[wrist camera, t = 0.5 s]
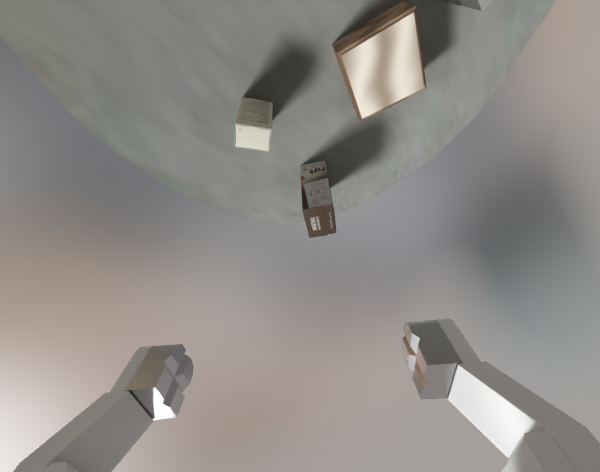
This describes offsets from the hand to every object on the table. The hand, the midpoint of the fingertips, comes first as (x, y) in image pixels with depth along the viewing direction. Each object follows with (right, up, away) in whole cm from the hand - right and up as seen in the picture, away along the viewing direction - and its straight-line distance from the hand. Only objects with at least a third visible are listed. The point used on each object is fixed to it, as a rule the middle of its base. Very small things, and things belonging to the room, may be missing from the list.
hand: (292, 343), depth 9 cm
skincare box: (-8, +30, +43) cm, 53 cm away
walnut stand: (+14, +36, +37) cm, 53 cm away
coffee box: (+4, +19, +55) cm, 58 cm away
